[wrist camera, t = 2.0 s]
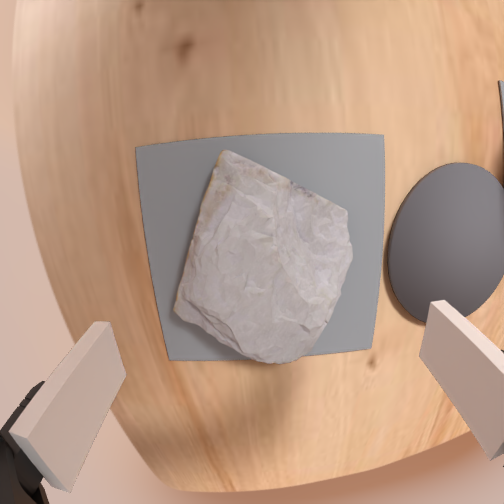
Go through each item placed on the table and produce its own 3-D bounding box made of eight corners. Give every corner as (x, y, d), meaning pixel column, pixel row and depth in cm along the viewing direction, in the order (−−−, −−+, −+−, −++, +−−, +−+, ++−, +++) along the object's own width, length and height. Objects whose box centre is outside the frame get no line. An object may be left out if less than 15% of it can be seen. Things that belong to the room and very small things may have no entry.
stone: (372, 210, 19) (394, 221, 16) (299, 354, 23) (305, 384, 19) (224, 148, 18) (218, 146, 15) (168, 310, 22) (155, 336, 18)
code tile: (136, 147, 18) (135, 147, 18) (382, 135, 18) (384, 134, 18) (169, 358, 23) (169, 360, 23) (370, 347, 23) (371, 348, 23)
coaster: (390, 157, 19) (393, 157, 18) (514, 169, 18) (518, 170, 18) (378, 330, 22) (381, 334, 22) (494, 309, 22) (498, 312, 22)
